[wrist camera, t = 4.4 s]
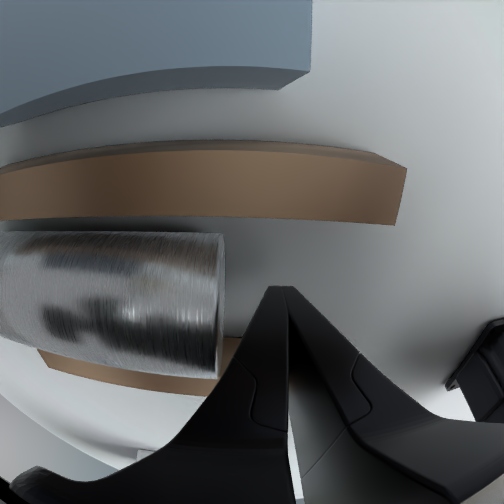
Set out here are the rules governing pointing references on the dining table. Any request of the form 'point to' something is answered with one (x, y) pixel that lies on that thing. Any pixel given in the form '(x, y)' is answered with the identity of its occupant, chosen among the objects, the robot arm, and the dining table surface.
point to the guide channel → (199, 202)
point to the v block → (144, 49)
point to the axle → (117, 298)
